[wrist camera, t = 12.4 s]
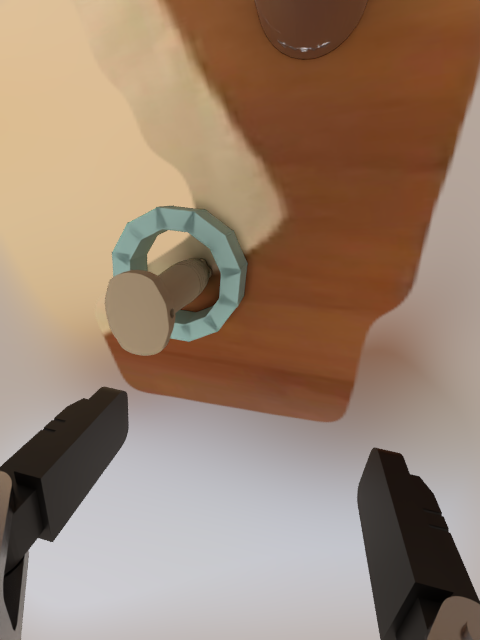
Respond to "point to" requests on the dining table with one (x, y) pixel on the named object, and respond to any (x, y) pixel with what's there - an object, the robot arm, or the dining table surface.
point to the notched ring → (210, 233)
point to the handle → (152, 304)
